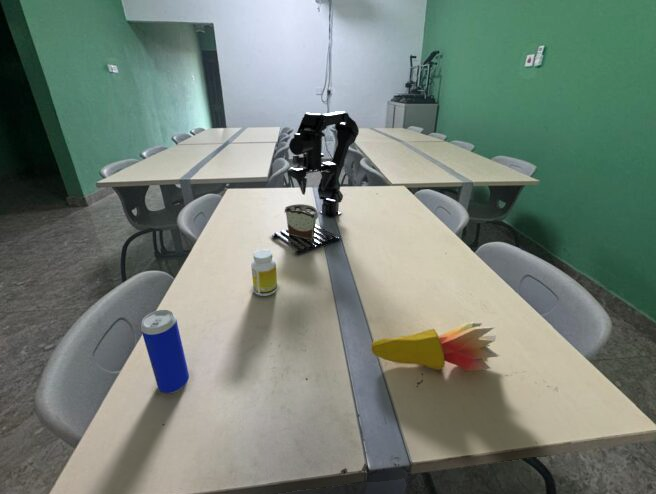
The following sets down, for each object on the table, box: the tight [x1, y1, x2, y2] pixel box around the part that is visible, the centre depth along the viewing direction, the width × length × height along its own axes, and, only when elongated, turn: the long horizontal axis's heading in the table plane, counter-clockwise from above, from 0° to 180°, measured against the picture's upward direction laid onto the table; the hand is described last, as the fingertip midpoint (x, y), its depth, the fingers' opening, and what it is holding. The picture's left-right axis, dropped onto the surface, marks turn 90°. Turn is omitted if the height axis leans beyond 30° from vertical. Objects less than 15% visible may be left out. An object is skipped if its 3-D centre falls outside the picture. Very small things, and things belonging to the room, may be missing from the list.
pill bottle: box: [250, 249, 278, 297], centre depth 82 cm, size 6×6×11 cm
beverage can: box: [140, 309, 190, 394], centre depth 55 cm, size 5×5×15 cm
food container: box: [284, 203, 319, 241], centre depth 110 cm, size 12×6×10 cm, turn 66°
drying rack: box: [271, 223, 341, 256], centre depth 112 cm, size 18×16×2 cm
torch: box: [370, 321, 501, 372], centre depth 63 cm, size 8×8×25 cm
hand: (313, 192), depth 119 cm, fingers open, 9 cm apart
